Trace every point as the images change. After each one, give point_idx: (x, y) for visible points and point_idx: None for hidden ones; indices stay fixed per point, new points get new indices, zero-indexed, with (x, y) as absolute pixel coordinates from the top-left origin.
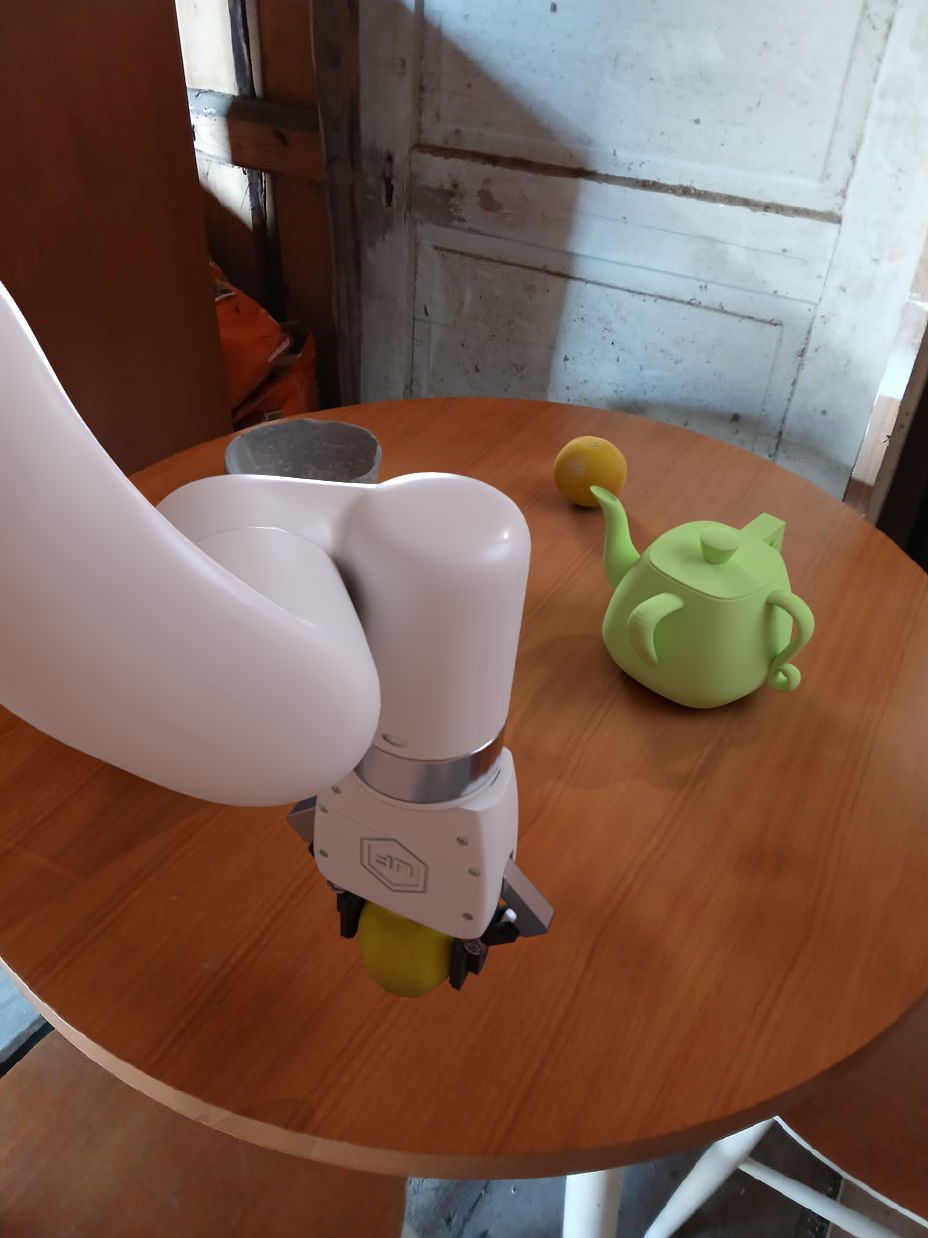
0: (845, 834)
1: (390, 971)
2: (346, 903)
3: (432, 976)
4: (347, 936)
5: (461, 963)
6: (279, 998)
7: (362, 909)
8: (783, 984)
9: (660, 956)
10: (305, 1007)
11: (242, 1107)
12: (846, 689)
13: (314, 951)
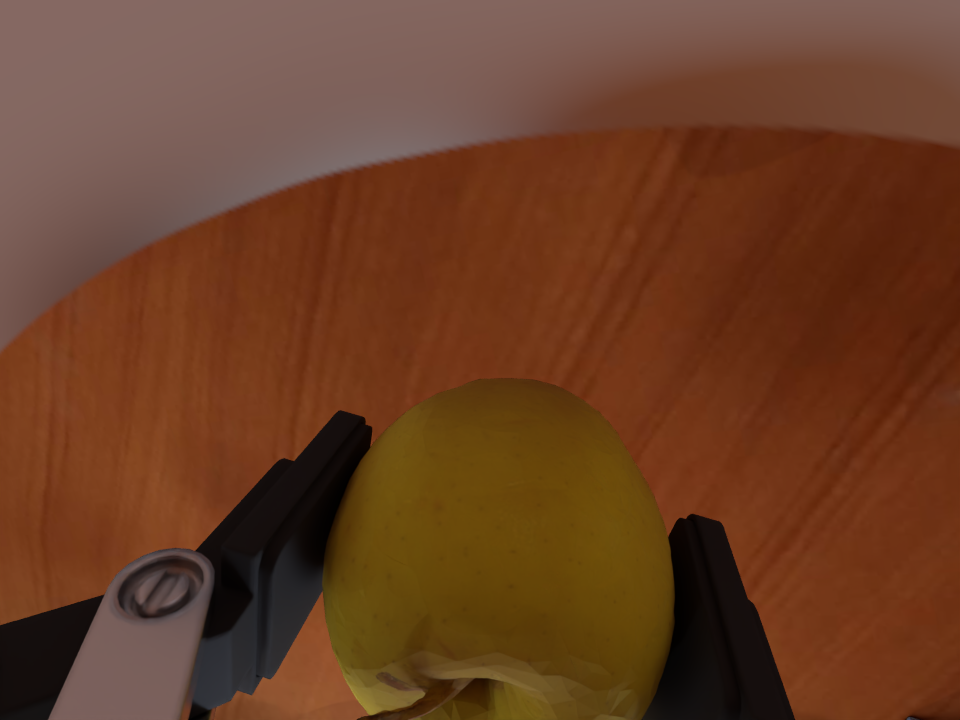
0: None
1: (524, 444)
2: (753, 706)
3: (390, 443)
4: (700, 526)
5: (264, 503)
6: (790, 354)
7: (670, 643)
8: (47, 473)
9: (198, 492)
10: (734, 345)
11: (836, 134)
12: None
13: (734, 443)
